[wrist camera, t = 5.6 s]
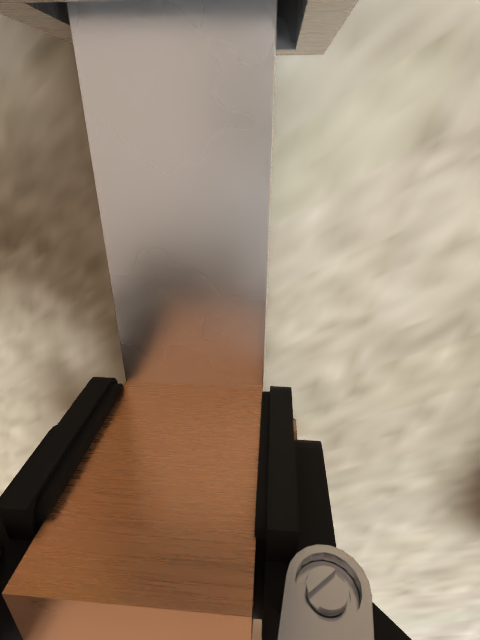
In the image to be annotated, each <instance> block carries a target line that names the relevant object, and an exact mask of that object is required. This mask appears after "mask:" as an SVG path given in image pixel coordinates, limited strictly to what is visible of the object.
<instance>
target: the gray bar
mask: <svg viewBox="0 0 480 640" xmlns="http://www.w3.org/2000/svg"><path fill="white" fill-rule="evenodd" d="M67 7H68V14H69V20H70V26H71V33H72V39H73V45H74V52H75V58H76V64H77V71H78V77H79V83H80V90H81V96H82V102H83V109H84V115H85V122H86V128H87V134H88V141H89V147H90V153H91V160H92V166H93V172H94V179H95V185H96V191H97V198H98V204H99V210H100V217H101V223H102V229H103V236H104V242H105V248H106V255H107V261H108V267H109V274H110V280H111V287H112V293H113V299H114V306H115V312H116V318H117V325H118V331H119V337H120V344H121V350H122V356H123V363H124V369H125V375H126V383H125V385H124V386H123V387H124V389H123V390H122V392H121V394H120V396H119V397H118V399H117V401H116V402H115V404H114V406H113V408H112V409H111V411H110V413H109V414H108V416H107V418H106V420H105V421H104V423H103V425H102V426H101V428H100V430H99V432H98V433H97V435H96V437H95V438H94V440H93V442H92V444H91V445H90V447H89V449H88V450H87V452H86V454H85V456H84V457H83V459H82V461H81V462H80V464H79V466H78V468H77V469H76V471H75V473H74V474H73V476H72V478H71V480H70V481H69V483H68V485H67V486H66V488H65V490H64V492H63V493H62V495H61V497H60V498H59V500H58V502H57V504H56V505H55V507H54V509H53V510H52V512H51V514H50V516H49V517H48V519H47V520H45V521H44V522H43V524H42V526H41V528H40V529H39V531H38V533H37V534H36V536H35V538H34V539H33V541H32V543H31V545H30V546H29V548H28V550H27V551H26V553H25V555H24V556H23V558H22V560H21V562H20V563H19V565H18V567H17V568H16V570H15V572H14V573H13V575H12V577H11V579H10V580H9V582H8V584H7V585H6V587H5V589H4V591H3V592H2V596H3V598H4V600H5V602H6V604H7V606H8V608H9V610H10V612H11V615H12V617H13V619H14V621H15V623H16V625H17V627H18V629H19V631H20V633H21V636H22V638H23V640H252V634H253V610H254V577H255V544H256V537H254V530H255V509H256V491H257V473H258V455H259V437H260V419H261V401H262V391H264V374H265V346H266V318H267V290H268V262H269V234H270V206H271V178H272V151H273V123H274V95H275V67H276V39H277V11H278V0H125V1H82V2H67Z"/></svg>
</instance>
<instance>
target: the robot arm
mask: <svg viewBox="0 0 480 640" xmlns="http://www.w3.org/2000/svg"><path fill="white" fill-rule="evenodd" d="M123 389H124V387H123V385H122V384H118V382H117V380H116V379H115V378H105V377H93V378H92V379H91V380H90V381H89V382H88V384H87V385H86V386H85V388H84V389H83V391H82V392H81V393H80V395H79V396H78V397H77V399H76V400H75V401H74V403H73V404H72V406H71V407H70V408H69V410H68V411H67V412H66V414H65V415H64V416H63V418H62V419H61V421H60V422H59V423H58V425H56V426H54V427H53V428H52V429H51V430H50V431H49V432H48V433H47V435H46V436H45V437H44V439H43V440H42V441H41V443H40V444H39V445H38V447H37V448H36V449H35V451H34V452H33V453H32V455H31V456H30V457H29V459H28V460H27V462H26V463H25V464H24V466H23V467H22V468H21V470H20V471H19V472H18V474H17V475H16V476H15V478H14V479H13V480H12V482H11V483H10V484H9V486H8V487H7V488H6V490H5V491H4V492H3V494H2V495H1V496H0V640H23V638H22V636H21V633H20V631H19V629H18V627H17V625H16V623H15V621H14V619H13V617H12V615H11V612H10V610H9V608H8V606H7V604H6V602H5V600H4V598H3V596H2V592H3V591H4V589H5V587H6V585H7V584H8V582H9V580H10V579H11V577H12V575H13V573H14V572H15V570H16V568H17V567H18V565H19V563H20V562H21V560H22V558H23V556H24V555H25V553H26V551H27V550H28V548H29V546H30V545H31V543H32V541H33V539H34V538H35V536H36V534H37V533H38V531H39V529H40V528H41V526H42V524H43V522H44V521H45V520H47V519H48V517H49V516H50V514H51V512H52V510H53V509H54V507H55V505H56V504H57V502H58V500H59V498H60V497H61V495H62V493H63V492H64V490H65V488H66V486H67V485H68V483H69V481H70V480H71V478H72V476H73V474H74V473H75V471H76V469H77V468H78V466H79V464H80V462H81V461H82V459H83V457H84V456H85V454H86V452H87V450H88V449H89V447H90V445H91V444H92V442H93V440H94V438H95V437H96V435H97V433H98V432H99V430H100V428H101V426H102V425H103V423H104V421H105V420H106V418H107V416H108V414H109V413H110V411H111V409H112V408H113V406H114V404H115V402H116V401H117V399H118V397H119V396H120V394H121V392H122V390H123ZM254 537H256V544H255V577H254V610H253V619H260V620H262V631H261V637H262V640H411V639H410V638H409V637H408V636H407V635H406V634H405V633H404V632H403V631H402V630H401V629H400V628H399V627H398V626H397V625H396V624H395V623H394V622H393V621H392V620H391V619H390V618H389V617H388V616H386V615H385V614H384V613H383V612H382V611H381V610H380V609H379V608H378V607H377V606H376V605H375V604H374V603H373V602H372V594H371V589H370V584H369V581H368V579H367V577H366V575H365V573H364V571H363V569H362V568H361V566H360V565H359V564H358V563H357V562H356V561H355V560H354V558H353V557H351V556H350V555H348V554H347V553H345V552H344V551H343V550H341V549H338V548H336V542H335V535H334V528H333V521H332V514H331V506H330V499H329V492H328V485H327V478H326V471H325V464H324V457H323V450H322V445H321V442H320V441H309V440H294V427H293V409H292V391H291V387H275V386H270V392H264V391H262V401H261V419H260V437H259V455H258V473H257V491H256V509H255V530H254Z"/></svg>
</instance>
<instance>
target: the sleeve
mask: <svg viewBox="0 0 480 640" xmlns="http://www.w3.org/2000/svg"><path fill="white" fill-rule="evenodd" d="M82 1H125V0H0V14H3V15H5V16H8V17H10V18H13V19H15V20H17V21H20V22H22V23H25V24H27V25H30V26H32V27H34V28H37V29H39V30H42V31H44V32H47V33H49V34H51V35H54V36H56V37H59V38H61V39H64V40H66V41H68V42H71V43H73V39H72V33H71V26H70V20H69V14H68V7H67V2H82ZM357 2H358V0H278V11H277V39H276V55H312V54H324V53H325V51H326V49H327V48H328V46H329V45H330V43H331V42H332V40H333V39H334V37H335V36H336V34H337V33H338V31H339V29H340V28H341V26H342V25H343V23H344V22H345V20H346V19H347V17H348V16H349V14H350V13H351V11H352V10H353V8H354V6H355V5H356V3H357Z"/></svg>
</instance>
